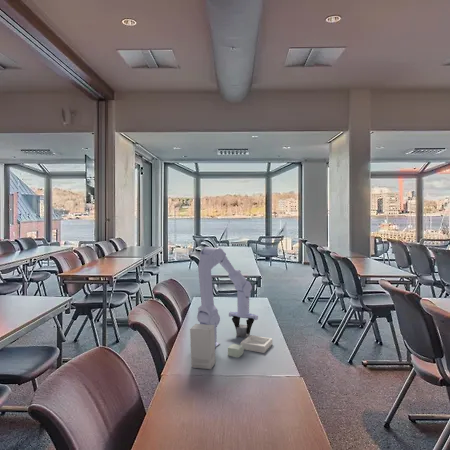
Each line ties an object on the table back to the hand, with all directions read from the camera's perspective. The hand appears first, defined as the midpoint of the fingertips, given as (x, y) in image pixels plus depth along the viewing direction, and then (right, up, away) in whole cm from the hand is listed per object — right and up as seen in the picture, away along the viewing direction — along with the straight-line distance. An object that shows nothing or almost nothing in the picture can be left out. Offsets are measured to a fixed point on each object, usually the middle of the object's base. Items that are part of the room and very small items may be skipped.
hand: (243, 332), depth 182 cm
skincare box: (-17, -3, -35) cm, 39 cm away
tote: (+5, -2, -15) cm, 16 cm away
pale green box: (-4, -3, -23) cm, 24 cm away
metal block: (0, -1, 0) cm, 1 cm away
